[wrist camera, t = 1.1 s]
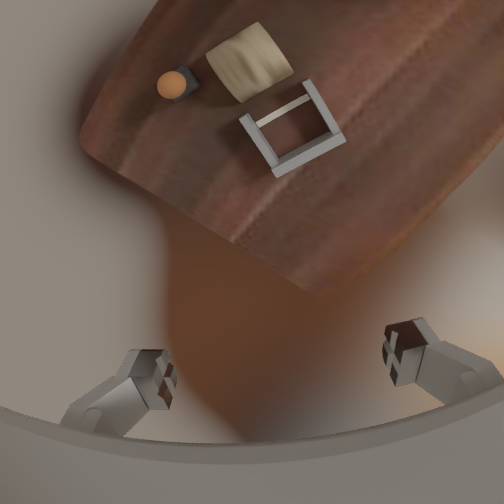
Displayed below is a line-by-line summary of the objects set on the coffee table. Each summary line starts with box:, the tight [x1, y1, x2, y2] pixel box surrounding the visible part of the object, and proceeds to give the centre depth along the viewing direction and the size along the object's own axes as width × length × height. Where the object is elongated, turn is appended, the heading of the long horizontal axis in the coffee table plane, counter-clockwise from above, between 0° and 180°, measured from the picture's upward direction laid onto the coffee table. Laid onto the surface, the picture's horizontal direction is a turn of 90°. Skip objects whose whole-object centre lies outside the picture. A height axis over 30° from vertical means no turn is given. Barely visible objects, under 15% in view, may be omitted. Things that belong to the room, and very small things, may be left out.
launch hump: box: [206, 22, 294, 103], centre depth 38 cm, size 9×10×10 cm
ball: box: [157, 71, 186, 99], centre depth 35 cm, size 4×4×4 cm
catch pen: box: [239, 79, 346, 178], centre depth 41 cm, size 12×10×4 cm
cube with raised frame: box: [172, 66, 201, 102], centre depth 38 cm, size 4×4×4 cm
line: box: [255, 94, 310, 128], centre depth 41 cm, size 9×1×1 cm, turn 123°
